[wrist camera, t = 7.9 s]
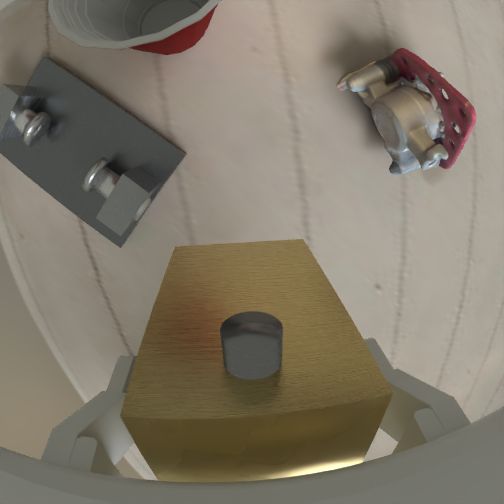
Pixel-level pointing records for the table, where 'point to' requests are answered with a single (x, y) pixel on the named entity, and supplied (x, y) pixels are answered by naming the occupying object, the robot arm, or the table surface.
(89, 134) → the shaft stand
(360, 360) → the block
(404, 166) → the brake caliper
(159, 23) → the plastic cup
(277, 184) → the table surface
